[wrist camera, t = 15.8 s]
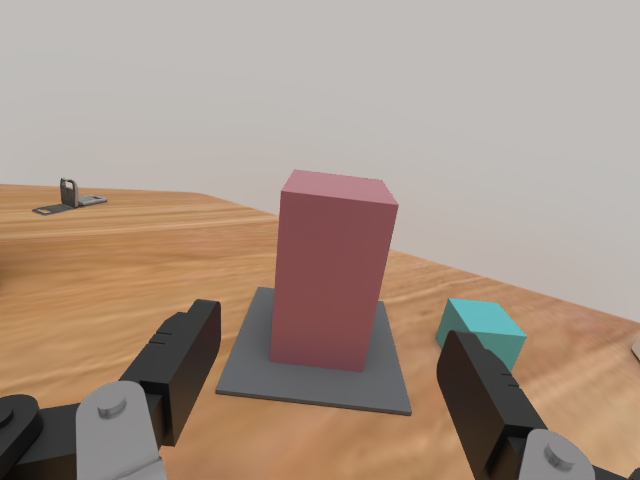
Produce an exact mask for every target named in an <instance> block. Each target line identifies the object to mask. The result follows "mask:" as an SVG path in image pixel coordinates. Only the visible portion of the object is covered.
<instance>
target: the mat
mask: <svg viewBox="0 0 640 480" xmlns="http://www.w3.org/2000/svg"><path fill="white" fill-rule="evenodd" d="M273 304H274V289H273V288H264V287H258V289H257V291H256V293H255V296H254V298H253V301H252V303H251V305H250V308H249V310H248V313H247V315H246V317H245V320H244V322H243V325H242V327H241V329H240V332H239V334H238V337H237V339H236V341H235V344H234V346H233V349H232V351H231V354H230V356H229V358H228V361H227V363H226V366H225V368H224V370H223V373H222V375H221V378H220V380H219V382H218V385H217V387H216V390H215V392H216V393H217V394H226V395H234V396H243V397H252V398H261V399H269V400H278V401H287V402H296V403H305V404H313V405H322V406H331V407H340V408H348V409H357V410H366V411H375V412H384V413H392V414H401V415H410V416H411V414H412V410H411V407H410V403H409V399H408V395H407V391H406V387H405V383H404V380H403V376H402V372H401V368H400V364H399V360H398V357H397V353H396V349H395V345H394V341H393V337H392V333H391V330H390V326H389V322H388V318H387V314H386V310H385V307H384V303H383V301H378V303H377V307H376V312H375V316H374V321H373V326H372V330H371V335H370V340H369V344H368V349H367V353H366V358H365V363H364V367H363V372H353V371H344V370H336V369H327V368H319V367H310V366H301V365H293V364H284V363H275V362H270V349H271V334H272V319H273Z"/></svg>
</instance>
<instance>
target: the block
mask: <svg viewBox="0 0 640 480" xmlns="http://www.w3.org/2000/svg"><path fill="white" fill-rule="evenodd" d="M450 330H456V331H464V332H473V333H475V334H476V335H477V337H478V339H479V340H480V342H481V343H482V345H483V347H484V348H485V349H489V350H491V351H492V352H493V353H494V354H495V355H496V356H497V357H498V358H500V359H501V360H502V361H503V362H504V364H505V365H506V367H507V368H508V370H509V371H510V372H511V370H512V368H513V366H514V364H515V361H516V359H517V357H518V355H519V353H520V351H521V348H522V346H523V344H524V342H525V340H526V337H527V336H526V335H525V334H524V333H523V331H522V330H521V329H520V328H519V327H518V326H517V325H516V324H515V323H514V321H513V320H512V319H511V318H510V317H509V316H508V315H507V314H506V312H505V311H504V310H503V309H502V308H501V307H500V306H499V305H498V304H497V303H492V302H482V301H472V300H462V299H452V298H448V301H447V304H446V307H445V310H444V313H443V316H442V320H441V323H440V326H439V329H438V332H437V335H436V339H437V341H438V343H439V345H440V347H441V349H443V346H444V343H445V340H446V337H447V334H448V332H449V331H450Z"/></svg>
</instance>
